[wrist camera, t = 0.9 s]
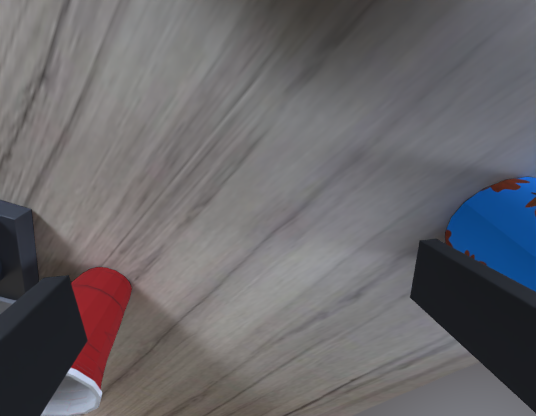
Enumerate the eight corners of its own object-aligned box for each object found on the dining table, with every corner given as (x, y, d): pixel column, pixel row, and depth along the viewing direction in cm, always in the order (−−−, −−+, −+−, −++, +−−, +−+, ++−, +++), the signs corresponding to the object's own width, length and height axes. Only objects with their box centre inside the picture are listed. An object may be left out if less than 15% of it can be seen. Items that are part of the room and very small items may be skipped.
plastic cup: (112, 324, 35) (43, 435, 25) (42, 272, 31) (-77, 382, 20) (173, 297, 32) (123, 412, 22) (105, 236, 28) (3, 342, 17)
